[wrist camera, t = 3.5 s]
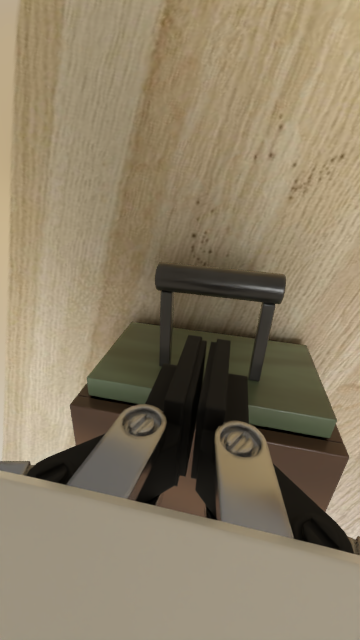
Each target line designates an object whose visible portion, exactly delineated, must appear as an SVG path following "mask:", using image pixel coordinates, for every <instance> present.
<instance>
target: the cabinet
mask: <svg viewBox="0 0 360 640" xmlns="http://www.w3.org/2000/svg"><path fill="white" fill-rule="evenodd" d="M112 400H113V399H108V398H102V397H96V396H91V395H89V393H88V384H86V385H85V386H84V388H83V389H82V390H81V391H80V393H79V394H78V396H77V397H76V398H75V399H74V400H73V402H72V403H71V404H70V409H71V416H72V423H73V429H74V436H75V443H76V445H79V444H81V443H84V442H86V441H88V440H91V439H93V438H96V437H98V436H100V435H103V434H105V433H106V432H107V431H108V430H109V428H110V427H111V426H112V424H113V423H114V422H115V421H116V419H117V418H118V417H119V415H120V414H121V413H122V412H123V411H124V410H126V409H127V408H129V407H131V406H132V405H127V404H121V403H116V402H111V401H112ZM257 429H258V430H259V431H260V432H261V433H262V434H263V435H264V437H265V440H266V442H267V445H268V449H269V452H270V456H271V459H272V463H273V464H274V465H275V466H276V467H278V468H279V469H280V470H281V471H282V472H283V473H284V474H285V475H286V476H287V477H288V478H289V479H290V480H291V481H292V482H293V483H295V484H296V485H297V486H298V487H299V488H300V489H301V490H302V491H303V492H304V493H305V494H306V495H307V496H308V497H309V498H311V499H312V500H313V501H314V502H315V503H316V504H317V505H318V506H319V507H320V508H321V509H322V510H323V511H324V512H326V509H327V507H328V505H329V502H330V500H331V498H332V496H333V493H334V491H335V489H336V487H337V484H338V482H339V480H340V477H341V475H342V473H343V471H344V468H345V466H346V464H347V462H348V459H349V455H348V453H347V450H346V448H345V445H344V444H343V441H342V438H341V436H340V433H339V431H338V428H337V426H336V424H335V427H334V429H333V432H332V435H331V437H330V438H324V437H319V436H313V435H308V434H302V435H303V436H298V435H292V434H287V433H281V432H276V431H270V430H265V429H259V428H257ZM195 431H196V427H195ZM194 441H195V432H194V437H193V442H192V447H191V452H190V458H189V463H188V468H187V473H186V477H184V476H179V481H178V486H173V487H172V488H170V489H168V490H167V491H165V492H164V495H163V499H162V502H161V504H160V507H163V508H167V509H171V510H175V511H180V512H184V513H188V514H192V515H196V516H201V517H204V508H205V503H204V502H203V500H202V499H201V497H200V496H199V495H198V493H197V492H196V491H195V488H196V479H193V478H191V470H192V460H193V450H194Z"/></svg>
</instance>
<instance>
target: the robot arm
mask: <svg viewBox="0 0 360 640" xmlns="http://www.w3.org/2000/svg"><path fill="white" fill-rule="evenodd" d="M230 345H231V341H230V340H223V339H217V342H212V341H211V345H210V350H209V355H208V359H207V364H206V369H205V374H204V365H205V356H206V346H207V341H204V340H202V336H194V335H188V337H187V340H186V343H185V345H184V348H183V351H182V353H181V356H180V359H179V361H178V364H177V365H172V364H166V363H164V364H163V365H162V368H161V370H160V372H159V374H158V376H157V379H156V381H155V383H154V385H153V387H152V390H151V392H150V394H149V396H148V399H147V401H146V403H145V404H139V405H135V406H131V407H129V408H127V409H126V410H124V411H123V412H122V413H121V414H120V415H119V417H118V418H117V419H116V421H115V422H114V423H113V424H112V426H111V427H110V428H109V430H108V431H107V432H106V433H105V434H103V435H100V436H98V437H96V438H93V439H91V440H88V441H86V442H84V443H81V444H79V445H76V446H74V447H72V448H69V449H67V450H64V451H62V452H60V453H57V454H55V455H52V456H50V457H48V458H46V459H44V460H42V461H40V462H38V463H37V464H36V465H31V464H30V461H0V640H360V537H359V536H358V537H357V539H356V540H355V539H352V538H350V537H348V536H347V535H346V534H345V532H344V531H343V530H342V529H341V528H340V526H339V525H338V524H337V523H336V522H335V521H334V520H333V519H332V518H331V517H330V516H329V515H328V514H326V513H325V512H324V511H323V510H322V509H321V508H320V507H319V506H318V505H317V504H316V503H315V502H314V501H313V500H312V499H311V498H309V497H308V496H307V495H306V494H305V493H304V492H303V491H302V490H301V489H300V488H299V487H298V486H297V485H296V484H295V483H293V482H292V481H291V480H290V479H289V478H288V477H287V476H286V475H285V474H284V473H283V472H282V471H281V470H280V469H279V468H278V467H276V466H275V465H274V464H273V463H272V459H271V456H270V452H269V449H268V445H267V442H266V440H265V437H264V435H263V434H262V433H261V432H260V431H259V430H258V429H257V428H255V427H254V426H252V425H250V424H249V409H248V378H247V376H243V375H236V374H230V373H228V372H229V359H230ZM203 374H204V379H203ZM195 427H196V431H195ZM194 432H195V441H194V450H193V460H192V470H191V478H193V479H196V488H195V491H196V492H197V493H198V495H199V496H200V497H201V499H202V500H203V502H204V503H205V508H204V517H201V516H196V515H192V514H188V513H184V512H180V511H175V510H171V509H167V508H163V507H160V504H161V502H162V499H163V495H164V492H165V491H167V490H168V489H170V488H172V487H173V486H178V481H179V476H184V477H186V473H187V468H188V463H189V458H190V452H191V447H192V442H193V437H194Z"/></svg>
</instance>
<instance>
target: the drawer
mask: <svg viewBox="0 0 360 640" xmlns="http://www.w3.org/2000/svg"><path fill="white" fill-rule="evenodd" d="M155 285H156V289H157V290H161V307H160V326H158V325H151V324H144V323H136V322H131V324H130V325H129V326H128V327H127V329H126V330H125V331H124V332H123V334H122V335H121V336H120V337H119V339H118V340H117V341H116V342H115V343H114V345H113V346H112V347H111V348H110V350H109V351H108V352H107V353H106V355H105V356H104V357H103V358H102V359H101V361H100V362H99V363H98V364H97V366H96V367H95V368H94V369H93V371H92V372H91V373H90V374H89V376H88V377H87V384H88V393H89V395H91V396H96V397H102V398H108V399H113V400H112V401H111V402H116V403H121V404H127V405H132V406H135V405H139V404H145V403H146V401H147V399H148V396H149V394H150V392H151V390H152V387H153V385H154V383H155V381H156V379H157V376H158V374H159V372H160V370H161V368H162V365H163V364H164V363H166V364H172V365H177V364H178V361H179V359H180V356H181V353H182V351H183V348H184V345H185V343H186V340H187V337H188V335H194V336H202V340H204V341H207V346H206V356H205V365H204V374H205V369H206V364H207V359H208V355H209V350H210V345H211V341H212V342H217V339H223V340H230V341H231V345H230V359H229V372H228V373H230V374H236V375H243V376H247V378H248V409H249V424H250V425H252V426H254V427H255V428H259V429H265V430H270V431H276V432H281V433H287V434H292V435H298V436H303V435H302V434H308V435H313V436H319V437H324V438H330V437H331V435H332V432H333V429H334V427H335V424H336V422H337V419H336V417H335V414H334V412H333V409H332V407H331V404H330V402H329V399H328V397H327V394H326V392H325V390H324V387H323V385H322V382H321V380H320V377H319V375H318V372H317V370H316V368H315V365H314V363H313V360H312V358H311V355H310V353H309V350H308V348H307V346H306V345H299V344H292V343H284V342H277V341H269V340H268V339H269V334H270V329H271V325H272V320H273V315H274V310H275V304H281V302H282V300H283V297H284V293H285V287H286V277H285V275H284V274H276V273H266V272H256V271H246V270H236V269H226V268H216V267H206V266H196V265H186V264H177V263H167V262H159V264H158V266H157V269H156V274H155ZM174 292H179V293H187V294H196V295H204V296H213V297H222V298H230V299H239V300H248V301H256V302H262V303H261V309H260V314H259V319H258V325H257V330H256V335H255V338H247V337H240V336H232V335H225V334H218V333H210V332H203V331H195V330H188V329H181V328H173V310H174ZM204 374H203V379H204Z"/></svg>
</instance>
